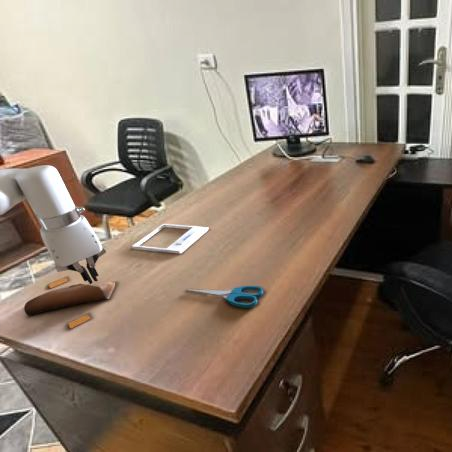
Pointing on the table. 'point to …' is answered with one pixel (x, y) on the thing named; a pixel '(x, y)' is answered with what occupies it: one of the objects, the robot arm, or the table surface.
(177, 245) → the photo frame
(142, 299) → the table surface
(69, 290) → the sunglasses case
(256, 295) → the scissors
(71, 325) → the tape marks
